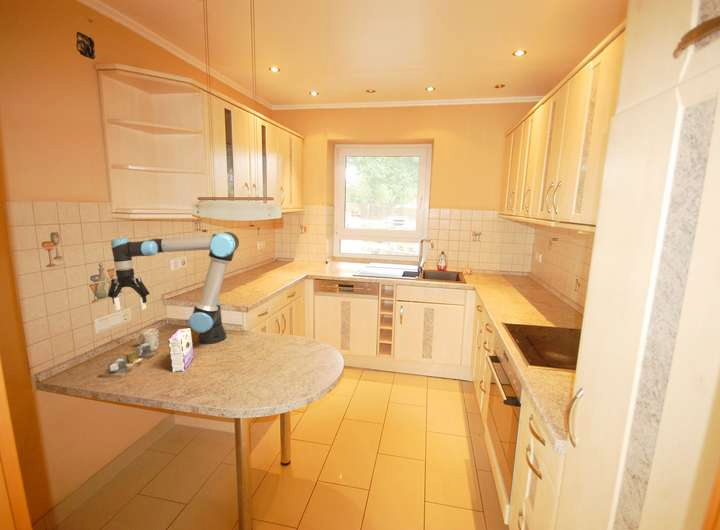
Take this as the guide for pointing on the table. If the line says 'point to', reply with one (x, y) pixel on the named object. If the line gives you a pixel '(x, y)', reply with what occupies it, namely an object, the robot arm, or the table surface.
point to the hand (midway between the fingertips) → (131, 309)
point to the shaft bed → (144, 358)
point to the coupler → (130, 356)
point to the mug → (150, 338)
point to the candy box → (181, 350)
